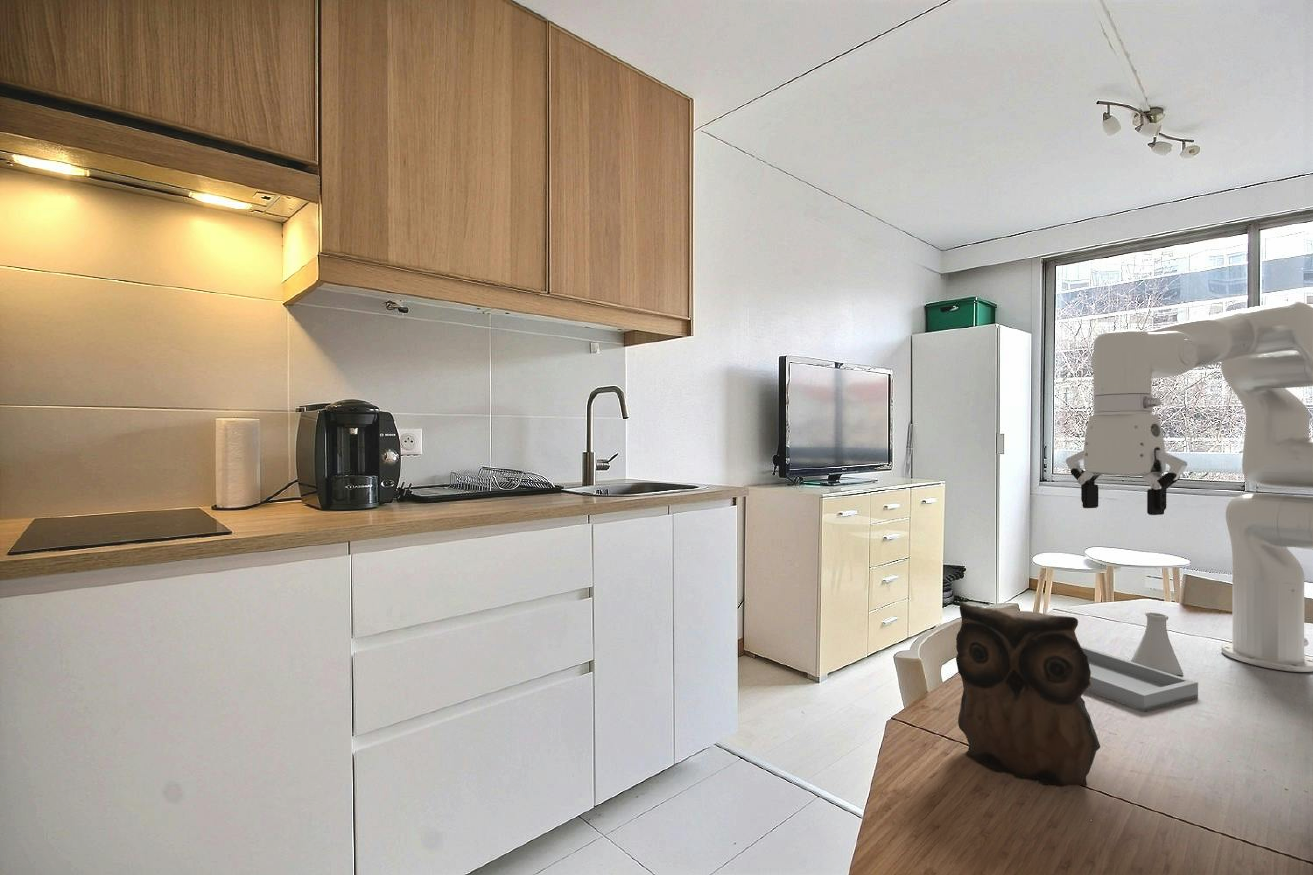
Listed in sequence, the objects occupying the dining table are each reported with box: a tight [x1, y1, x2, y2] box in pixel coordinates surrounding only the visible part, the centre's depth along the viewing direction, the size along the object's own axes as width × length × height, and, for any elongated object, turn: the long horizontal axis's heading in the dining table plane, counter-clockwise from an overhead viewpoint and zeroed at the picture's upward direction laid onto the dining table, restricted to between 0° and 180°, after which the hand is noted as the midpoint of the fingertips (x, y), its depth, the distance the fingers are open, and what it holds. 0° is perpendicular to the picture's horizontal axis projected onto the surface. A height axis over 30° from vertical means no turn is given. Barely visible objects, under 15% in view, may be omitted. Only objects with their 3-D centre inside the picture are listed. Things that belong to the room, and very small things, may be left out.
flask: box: [1130, 611, 1185, 676], centre depth 108 cm, size 7×7×10 cm
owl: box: [955, 601, 1101, 787], centre depth 75 cm, size 13×13×20 cm
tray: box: [1080, 645, 1199, 713], centre depth 102 cm, size 14×20×2 cm
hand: (1121, 511), depth 97 cm, fingers open, 9 cm apart
